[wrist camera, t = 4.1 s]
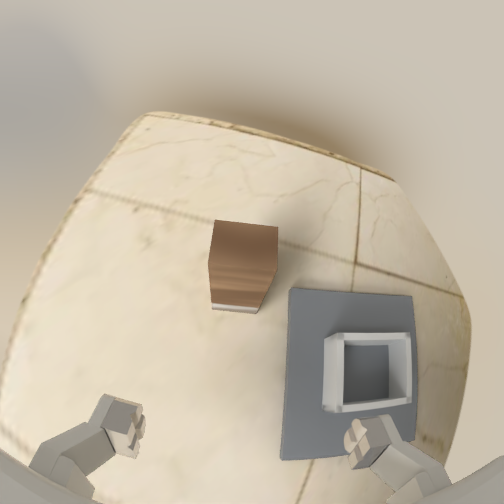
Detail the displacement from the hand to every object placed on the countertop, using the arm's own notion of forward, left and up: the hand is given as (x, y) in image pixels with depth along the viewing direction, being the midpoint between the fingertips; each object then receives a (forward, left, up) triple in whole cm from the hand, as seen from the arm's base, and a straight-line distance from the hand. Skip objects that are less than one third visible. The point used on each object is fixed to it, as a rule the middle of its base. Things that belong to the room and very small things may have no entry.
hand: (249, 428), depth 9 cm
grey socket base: (+3, -11, -14) cm, 18 cm away
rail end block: (+10, +1, -14) cm, 17 cm away
